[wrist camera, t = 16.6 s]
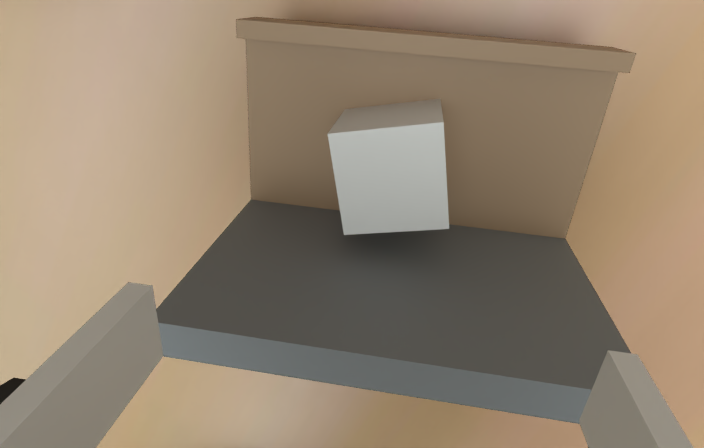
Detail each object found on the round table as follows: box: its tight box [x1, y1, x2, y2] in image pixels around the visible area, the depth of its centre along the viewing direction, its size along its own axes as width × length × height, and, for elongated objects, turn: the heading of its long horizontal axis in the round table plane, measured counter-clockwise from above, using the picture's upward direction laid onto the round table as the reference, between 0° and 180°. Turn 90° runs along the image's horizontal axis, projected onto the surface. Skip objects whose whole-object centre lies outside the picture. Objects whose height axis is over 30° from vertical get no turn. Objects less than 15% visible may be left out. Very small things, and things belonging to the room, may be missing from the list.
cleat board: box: [156, 17, 636, 424], centre depth 27 cm, size 14×22×22 cm, turn 86°
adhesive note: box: [328, 99, 449, 235], centre depth 27 cm, size 6×6×6 cm
